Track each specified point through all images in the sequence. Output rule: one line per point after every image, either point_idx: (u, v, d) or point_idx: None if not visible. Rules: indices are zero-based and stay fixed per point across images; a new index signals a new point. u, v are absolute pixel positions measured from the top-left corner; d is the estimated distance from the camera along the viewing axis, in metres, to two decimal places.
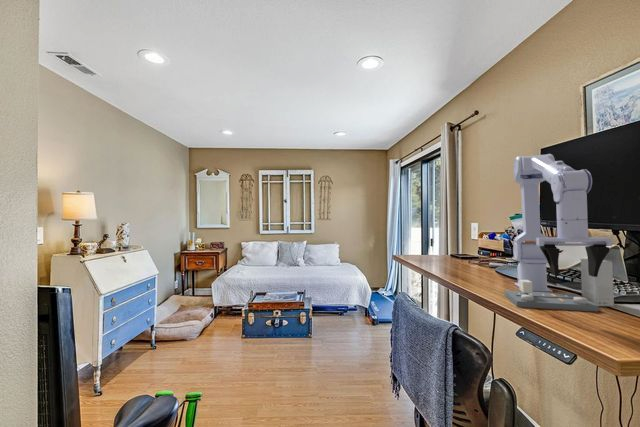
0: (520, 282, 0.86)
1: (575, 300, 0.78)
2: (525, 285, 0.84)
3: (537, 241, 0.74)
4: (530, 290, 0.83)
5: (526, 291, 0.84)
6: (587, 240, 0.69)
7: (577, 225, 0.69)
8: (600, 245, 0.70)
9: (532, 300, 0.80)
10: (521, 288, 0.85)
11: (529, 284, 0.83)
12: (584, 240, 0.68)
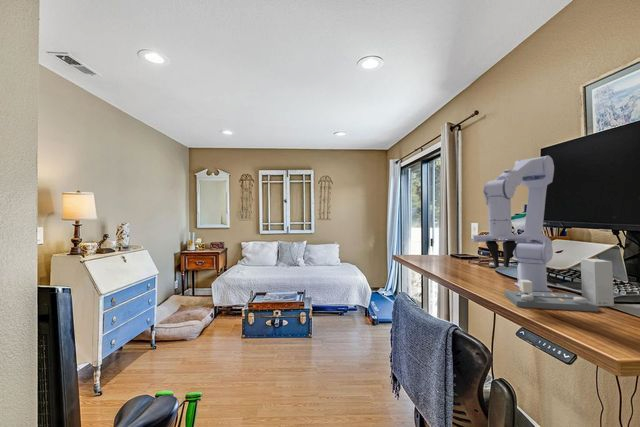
0: (520, 282, 0.86)
1: (575, 300, 0.78)
2: (525, 285, 0.84)
3: (473, 238, 0.89)
4: (530, 290, 0.83)
5: (526, 291, 0.84)
6: (510, 237, 0.84)
7: (502, 225, 0.84)
8: (521, 241, 0.85)
9: (532, 300, 0.80)
10: (521, 288, 0.85)
11: (529, 284, 0.83)
12: (506, 237, 0.83)
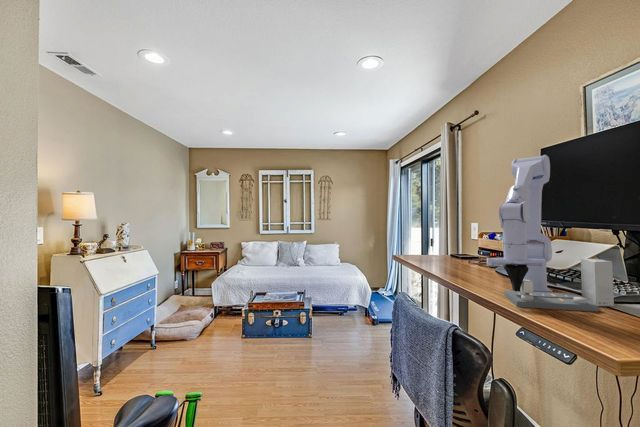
0: None
1: (575, 300, 0.78)
2: (526, 285, 0.84)
3: (487, 261, 0.88)
4: (531, 290, 0.83)
5: (527, 291, 0.84)
6: (525, 261, 0.83)
7: (517, 249, 0.83)
8: (537, 265, 0.84)
9: (532, 300, 0.80)
10: (522, 288, 0.85)
11: (530, 284, 0.83)
12: (522, 262, 0.82)
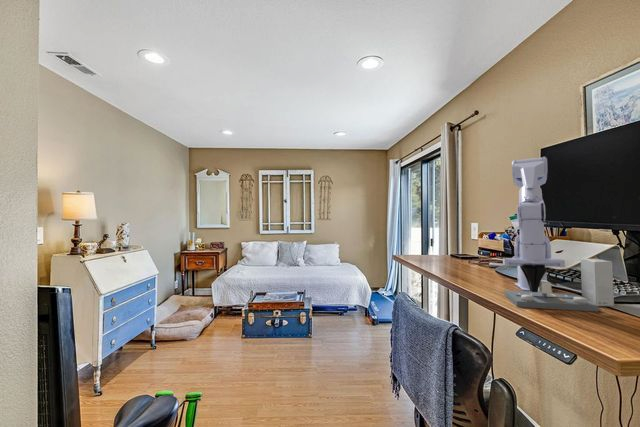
0: None
1: (575, 300, 0.78)
2: (544, 286, 0.82)
3: (503, 261, 0.87)
4: (549, 291, 0.82)
5: (545, 292, 0.82)
6: (543, 262, 0.82)
7: (535, 249, 0.82)
8: None
9: (532, 300, 0.80)
10: (539, 289, 0.84)
11: (548, 285, 0.82)
12: (540, 262, 0.81)
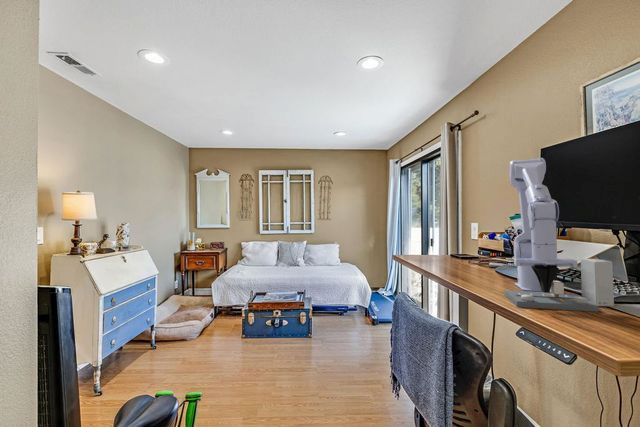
0: None
1: (575, 300, 0.78)
2: (556, 286, 0.81)
3: (514, 261, 0.86)
4: (561, 291, 0.81)
5: (557, 292, 0.81)
6: (556, 262, 0.81)
7: (547, 249, 0.81)
8: (567, 266, 0.81)
9: (532, 300, 0.80)
10: (551, 289, 0.83)
11: (560, 285, 0.81)
12: (553, 262, 0.80)
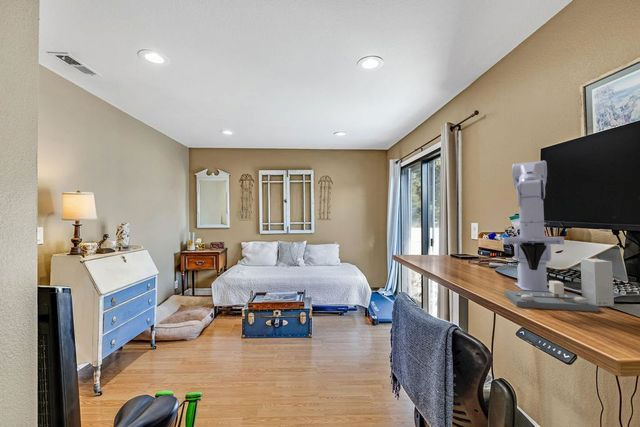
0: (550, 283, 0.84)
1: (575, 300, 0.78)
2: (556, 286, 0.81)
3: (503, 240, 0.87)
4: (561, 291, 0.81)
5: (557, 292, 0.81)
6: (543, 239, 0.82)
7: (535, 227, 0.82)
8: (554, 243, 0.82)
9: (532, 300, 0.80)
10: (551, 289, 0.83)
11: (560, 285, 0.81)
12: (540, 239, 0.81)
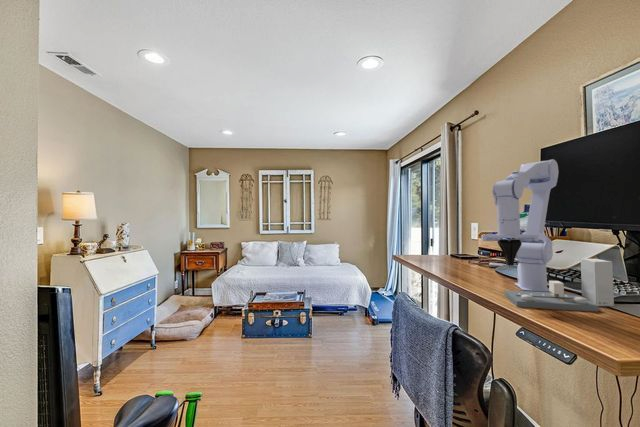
0: (550, 283, 0.84)
1: (575, 300, 0.78)
2: (556, 286, 0.81)
3: (482, 237, 0.91)
4: (561, 291, 0.81)
5: (557, 292, 0.81)
6: (518, 236, 0.86)
7: (511, 224, 0.86)
8: (529, 240, 0.87)
9: (532, 300, 0.80)
10: (551, 289, 0.83)
11: (560, 285, 0.81)
12: (515, 236, 0.85)
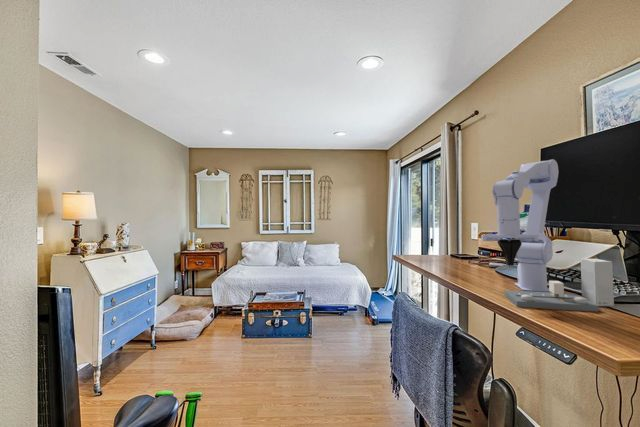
0: (550, 283, 0.84)
1: (575, 300, 0.78)
2: (556, 286, 0.81)
3: (482, 237, 0.91)
4: (561, 291, 0.81)
5: (557, 292, 0.81)
6: (518, 236, 0.86)
7: (511, 224, 0.86)
8: (529, 240, 0.87)
9: (532, 300, 0.80)
10: (551, 289, 0.83)
11: (560, 285, 0.81)
12: (515, 236, 0.85)
